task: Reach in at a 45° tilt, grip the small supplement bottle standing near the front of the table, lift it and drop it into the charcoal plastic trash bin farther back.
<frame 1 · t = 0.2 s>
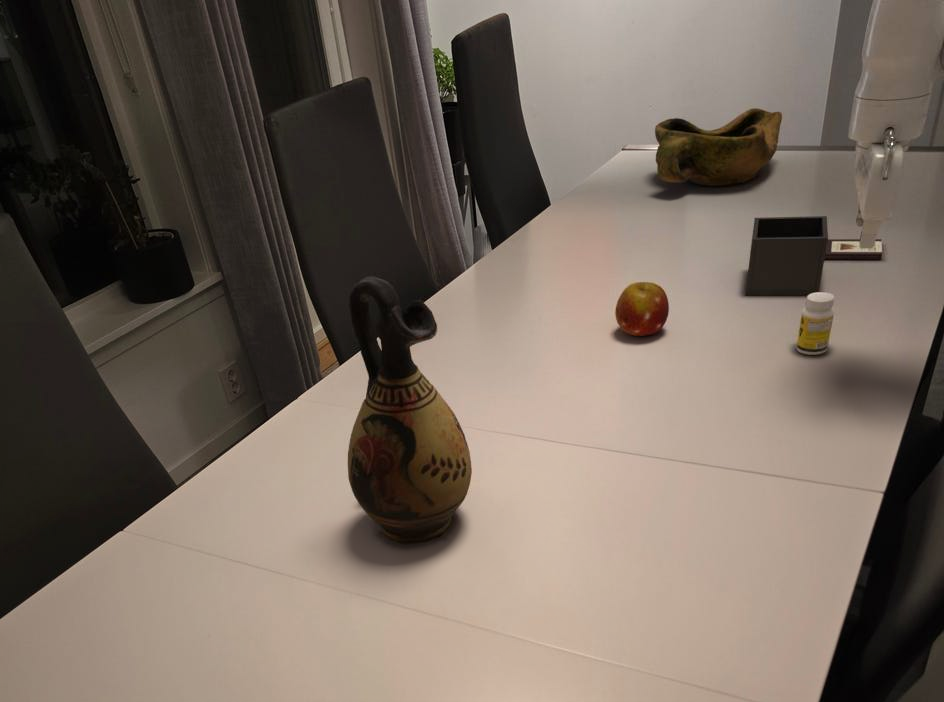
hand: (864, 235, 115), 20 cm above the table, tool pointing down, fingers open, 8 cm apart
bowl: (708, 181, 214), on the table
fruit: (641, 333, 147), on the table
ceramic jug: (414, 520, 109), on the table
trash bin: (781, 283, 157), on the table
chocolate bar: (831, 252, 166), on the table
supplement bottle: (811, 350, 135), on the table
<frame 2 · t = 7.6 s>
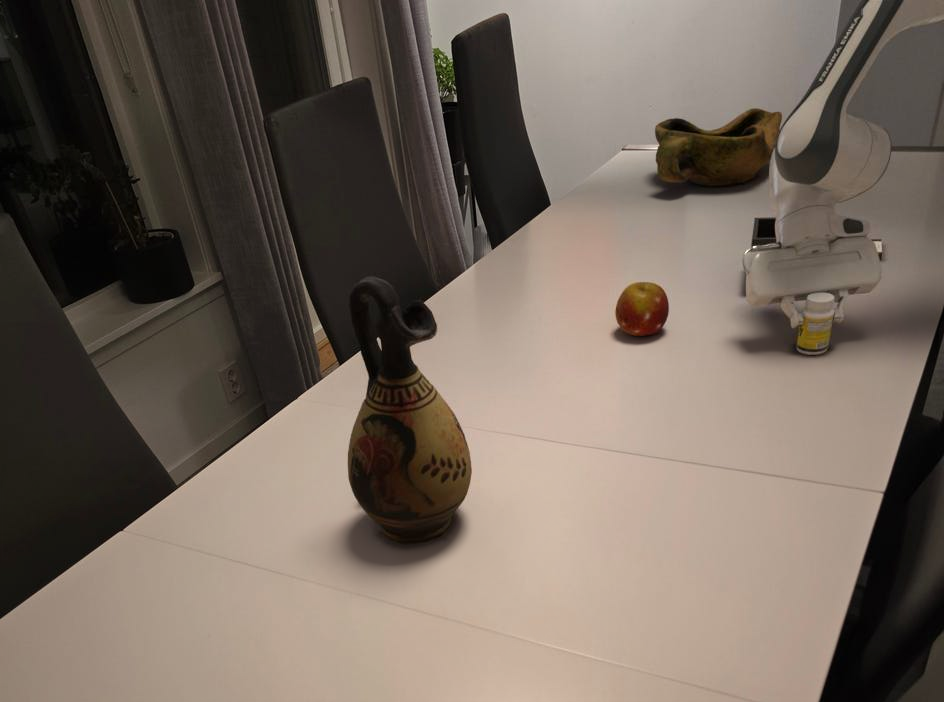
hand: (817, 323, 131), 4 cm above the table, tool tilted 45°, fingers closed on supplement bottle, 5 cm apart
supplement bottle: (811, 350, 135), on the table, touching gripper
everything else where it was.
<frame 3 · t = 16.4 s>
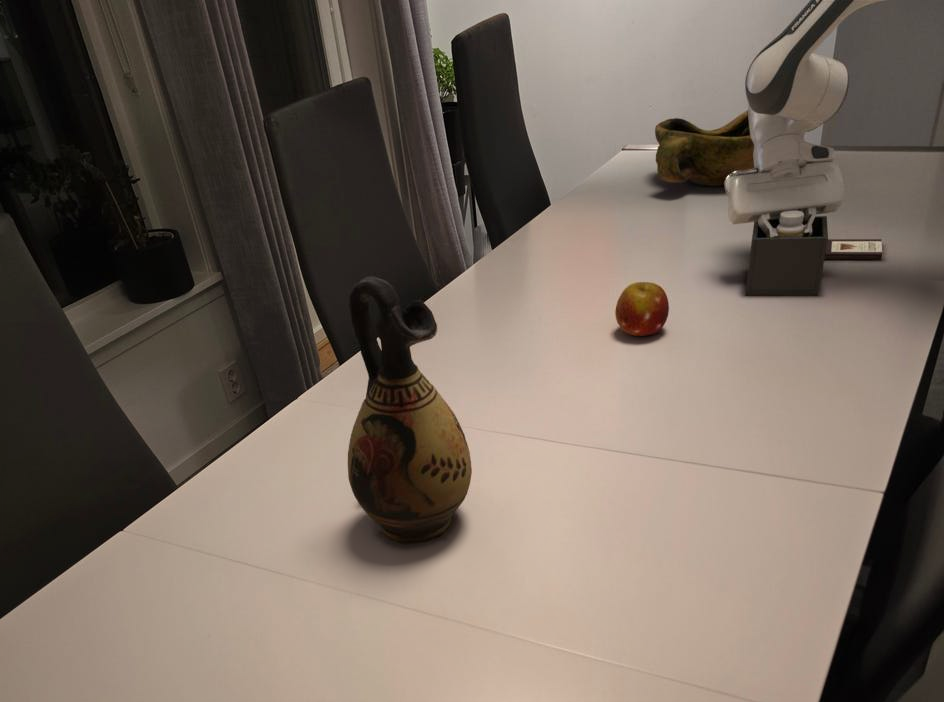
hand: (790, 238, 151), 8 cm above the table, tool tilted 45°, fingers closed on supplement bottle, 5 cm apart
supplement bottle: (785, 263, 155), point 4 cm above the table, touching gripper
everything else where it was.
when the fingers open (9 cm above the table, at t = 25.1 s): supplement bottle drops 4 cm, resting on trash bin.
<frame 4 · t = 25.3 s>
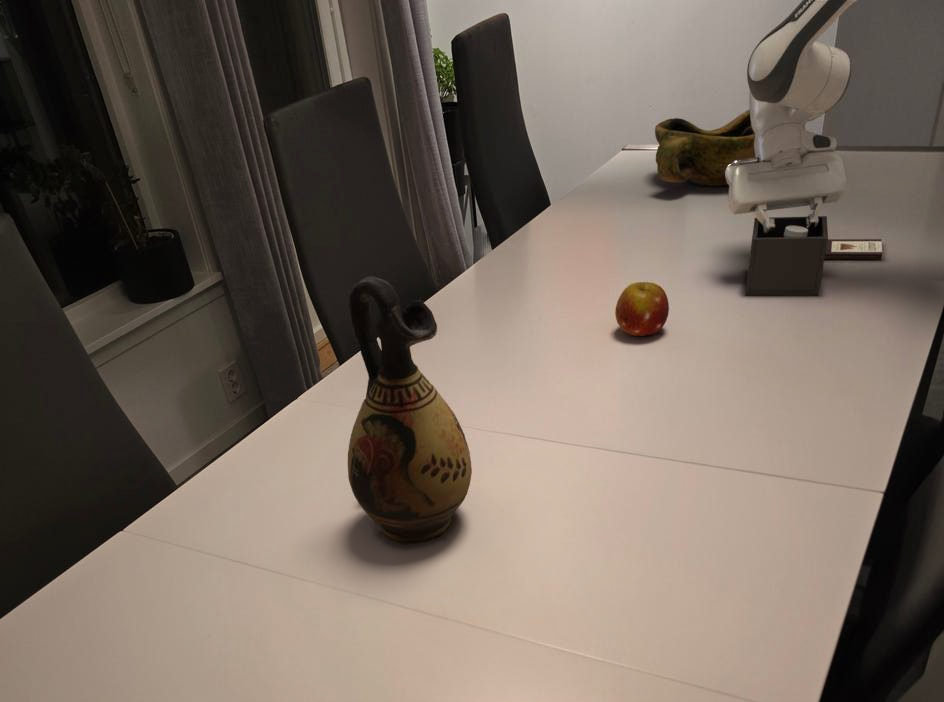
hand: (791, 228, 150), 10 cm above the table, tool tilted 45°, fingers open, 6 cm apart
supplement bottle: (783, 277, 156), point 1 cm above the table, touching gripper, trash bin
everything else where it was.
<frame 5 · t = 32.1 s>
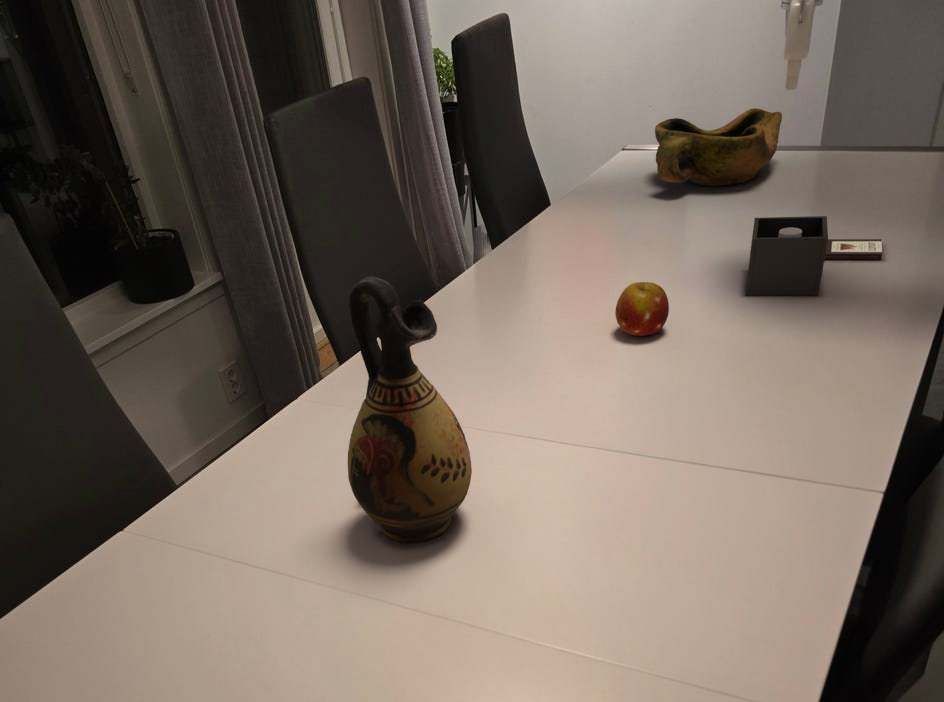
hand: (791, 83, 141), 31 cm above the table, tool pointing down, fingers open, 8 cm apart
supplement bottle: (783, 279, 156), point 1 cm above the table, touching trash bin
everything else where it was.
at the end: supplement bottle inside the target area in the trash bin (0.2 cm from its centre), point 0.6 cm above the trash bin's base; the gripper is holding nothing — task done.
